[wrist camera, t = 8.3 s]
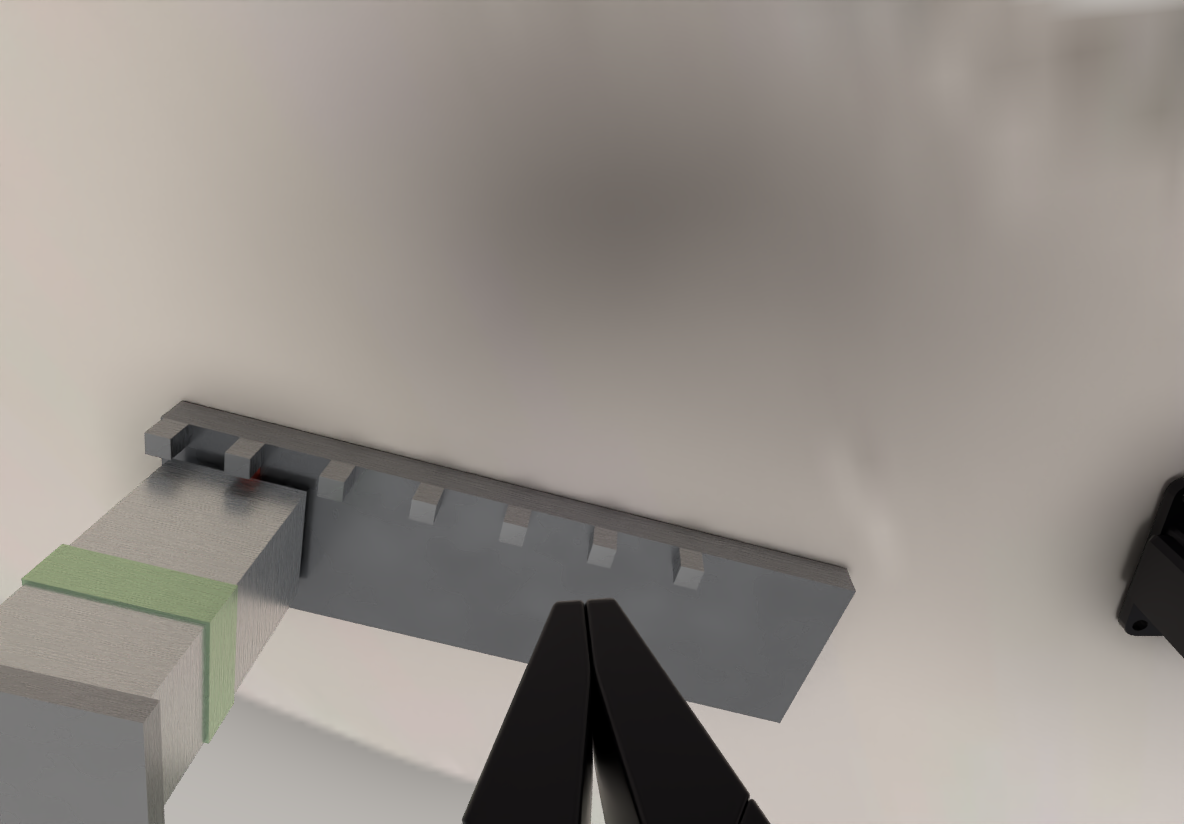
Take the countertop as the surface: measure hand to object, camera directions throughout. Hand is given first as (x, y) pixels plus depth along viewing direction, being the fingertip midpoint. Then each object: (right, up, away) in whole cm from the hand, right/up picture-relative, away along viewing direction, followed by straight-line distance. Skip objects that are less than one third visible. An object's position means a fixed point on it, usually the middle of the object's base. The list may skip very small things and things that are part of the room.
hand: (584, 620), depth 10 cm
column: (-12, -1, +14) cm, 19 cm away
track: (-3, -3, +16) cm, 17 cm away
